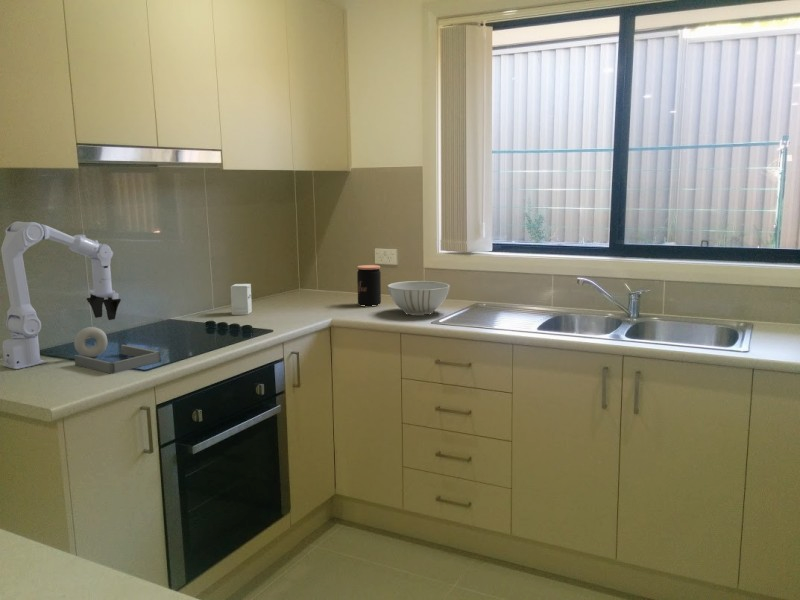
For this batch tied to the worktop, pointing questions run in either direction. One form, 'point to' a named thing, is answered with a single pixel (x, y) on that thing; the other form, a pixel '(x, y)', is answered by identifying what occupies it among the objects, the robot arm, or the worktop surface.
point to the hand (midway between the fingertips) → (105, 318)
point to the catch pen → (139, 359)
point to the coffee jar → (369, 285)
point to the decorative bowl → (418, 296)
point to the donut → (84, 335)
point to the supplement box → (241, 299)
